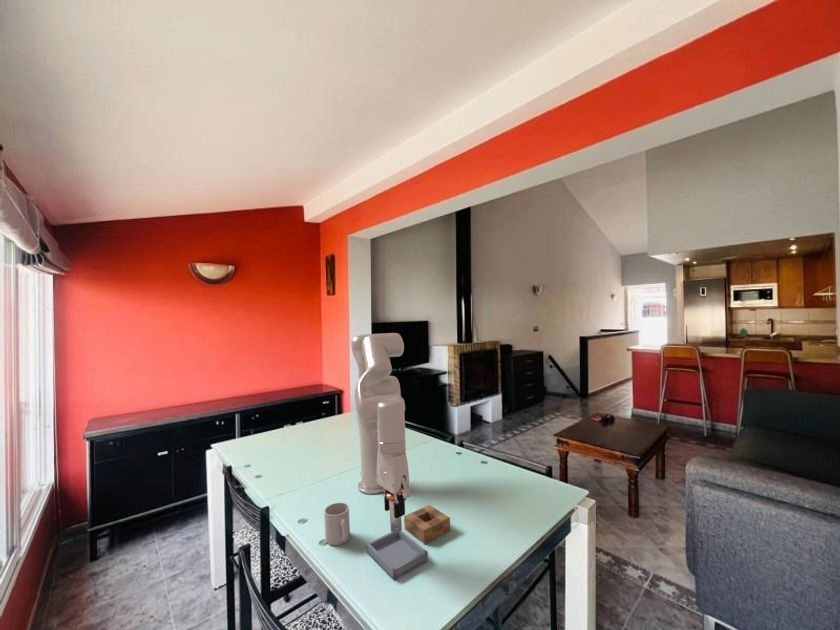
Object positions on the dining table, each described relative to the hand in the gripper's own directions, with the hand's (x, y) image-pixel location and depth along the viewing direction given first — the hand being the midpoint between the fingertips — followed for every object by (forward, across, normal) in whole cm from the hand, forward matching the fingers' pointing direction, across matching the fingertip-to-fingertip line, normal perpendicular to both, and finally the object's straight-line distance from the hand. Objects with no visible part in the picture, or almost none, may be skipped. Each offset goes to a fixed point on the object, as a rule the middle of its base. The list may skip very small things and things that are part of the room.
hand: (394, 511), depth 98 cm
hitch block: (+12, -4, +14) cm, 19 cm away
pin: (+5, 0, 0) cm, 5 cm away
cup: (+12, -17, -9) cm, 23 cm away
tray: (+12, 0, 0) cm, 12 cm away
